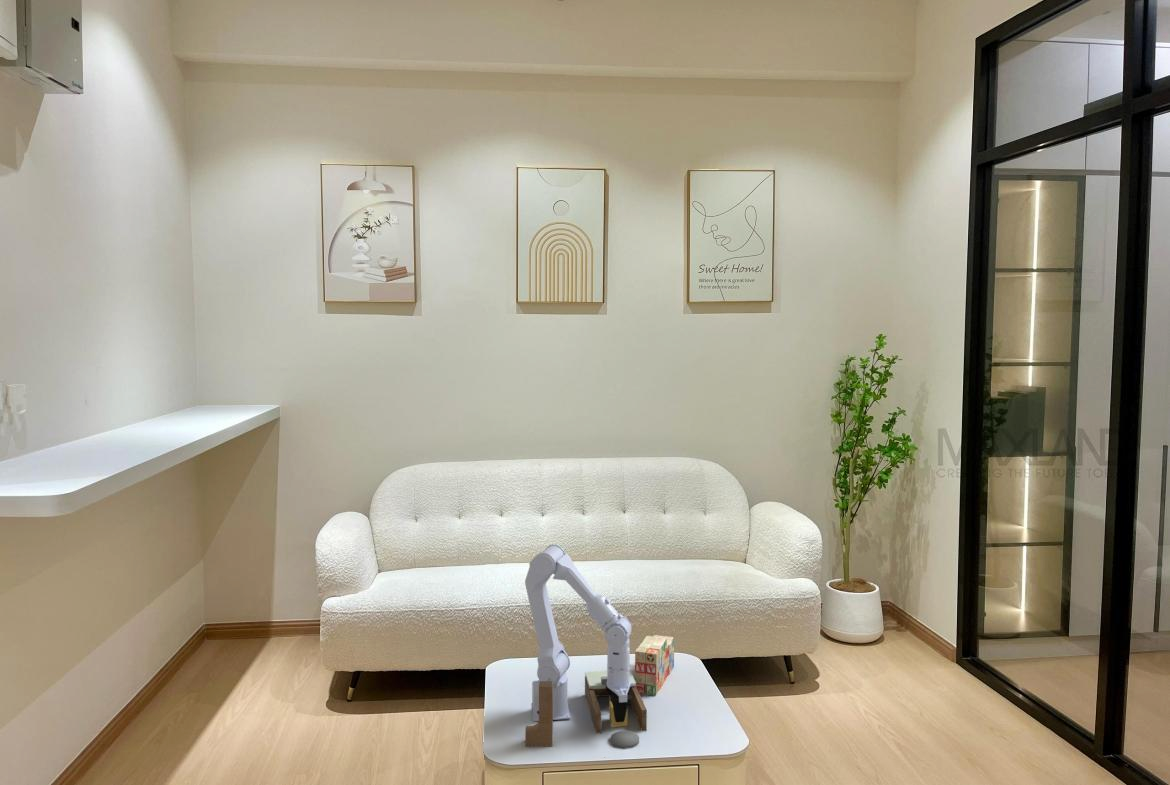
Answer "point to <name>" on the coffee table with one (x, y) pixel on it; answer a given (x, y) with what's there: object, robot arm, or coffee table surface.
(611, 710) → the ochre block
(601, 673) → the lid
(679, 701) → the coffee table surface
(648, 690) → the stack of blocks
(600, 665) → the coffee table surface
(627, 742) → the coaster
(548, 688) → the wooden block
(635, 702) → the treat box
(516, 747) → the coffee table surface
